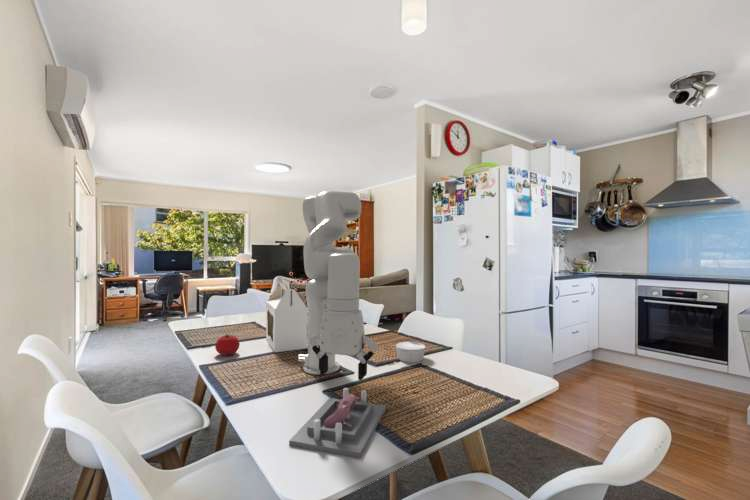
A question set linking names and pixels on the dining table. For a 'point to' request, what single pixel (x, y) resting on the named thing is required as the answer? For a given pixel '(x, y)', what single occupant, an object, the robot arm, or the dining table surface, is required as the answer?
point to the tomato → (227, 345)
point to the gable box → (286, 319)
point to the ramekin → (410, 351)
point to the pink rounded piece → (341, 411)
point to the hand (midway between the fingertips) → (342, 375)
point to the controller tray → (340, 428)
